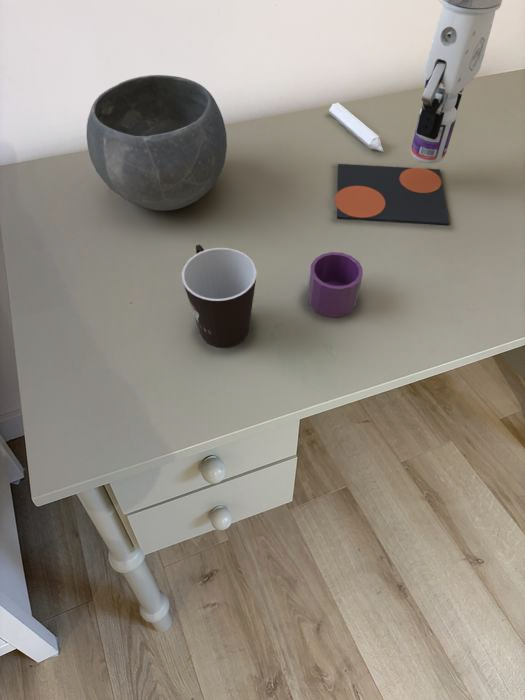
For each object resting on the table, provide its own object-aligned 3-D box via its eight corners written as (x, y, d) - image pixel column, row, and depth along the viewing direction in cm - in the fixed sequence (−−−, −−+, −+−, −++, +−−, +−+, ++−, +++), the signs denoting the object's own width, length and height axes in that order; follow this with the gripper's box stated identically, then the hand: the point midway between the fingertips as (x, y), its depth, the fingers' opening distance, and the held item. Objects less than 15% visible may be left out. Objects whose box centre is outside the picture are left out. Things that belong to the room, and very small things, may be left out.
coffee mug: (256, 355, 66) (255, 301, 58) (188, 354, 66) (177, 300, 58) (258, 287, 73) (257, 231, 65) (196, 287, 73) (188, 230, 65)
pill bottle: (430, 141, 86) (446, 81, 78) (451, 158, 83) (471, 97, 75) (403, 150, 84) (417, 89, 76) (423, 168, 81) (441, 106, 73)
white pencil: (381, 161, 93) (332, 117, 101) (391, 152, 92) (341, 109, 101) (378, 151, 90) (327, 107, 99) (388, 142, 90) (336, 99, 98)
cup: (356, 283, 74) (362, 253, 69) (356, 319, 70) (363, 290, 65) (308, 280, 74) (311, 250, 70) (306, 315, 70) (309, 286, 66)
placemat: (438, 171, 89) (439, 168, 89) (448, 225, 81) (449, 222, 81) (335, 165, 90) (335, 163, 90) (333, 218, 82) (334, 215, 82)
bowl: (176, 142, 95) (164, 55, 83) (256, 193, 86) (255, 103, 74) (79, 191, 86) (50, 101, 74) (157, 253, 77) (137, 162, 65)
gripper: (475, 20, 60) (434, 162, 74) (526, -26, 68) (480, 110, 83) (414, 4, 62) (386, 144, 77) (471, -38, 71) (435, 95, 85)
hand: (435, 125), depth 80 cm, fingers closed on pill bottle, 5 cm apart
